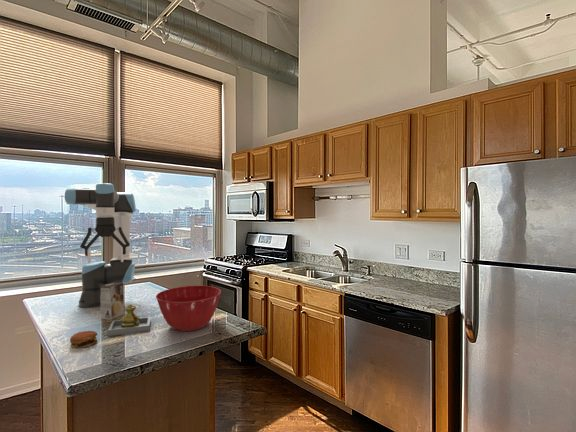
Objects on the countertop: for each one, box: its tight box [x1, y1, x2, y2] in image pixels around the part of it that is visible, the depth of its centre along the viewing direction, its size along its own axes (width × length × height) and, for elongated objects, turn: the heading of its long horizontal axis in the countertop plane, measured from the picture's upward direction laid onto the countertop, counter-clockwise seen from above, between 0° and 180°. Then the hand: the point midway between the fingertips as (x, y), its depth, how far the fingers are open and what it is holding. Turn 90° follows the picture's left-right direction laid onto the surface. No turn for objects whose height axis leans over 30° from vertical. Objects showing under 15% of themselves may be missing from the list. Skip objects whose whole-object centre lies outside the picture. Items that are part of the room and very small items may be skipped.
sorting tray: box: [107, 316, 151, 337], centre depth 150 cm, size 13×16×2 cm
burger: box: [69, 330, 98, 349], centre depth 133 cm, size 10×9×5 cm
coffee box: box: [100, 283, 125, 321], centre depth 167 cm, size 9×6×16 cm
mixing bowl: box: [155, 285, 222, 332], centre depth 153 cm, size 28×28×16 cm
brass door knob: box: [120, 304, 140, 328], centre depth 150 cm, size 7×8×10 cm
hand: (106, 262), depth 156 cm, fingers open, 13 cm apart
